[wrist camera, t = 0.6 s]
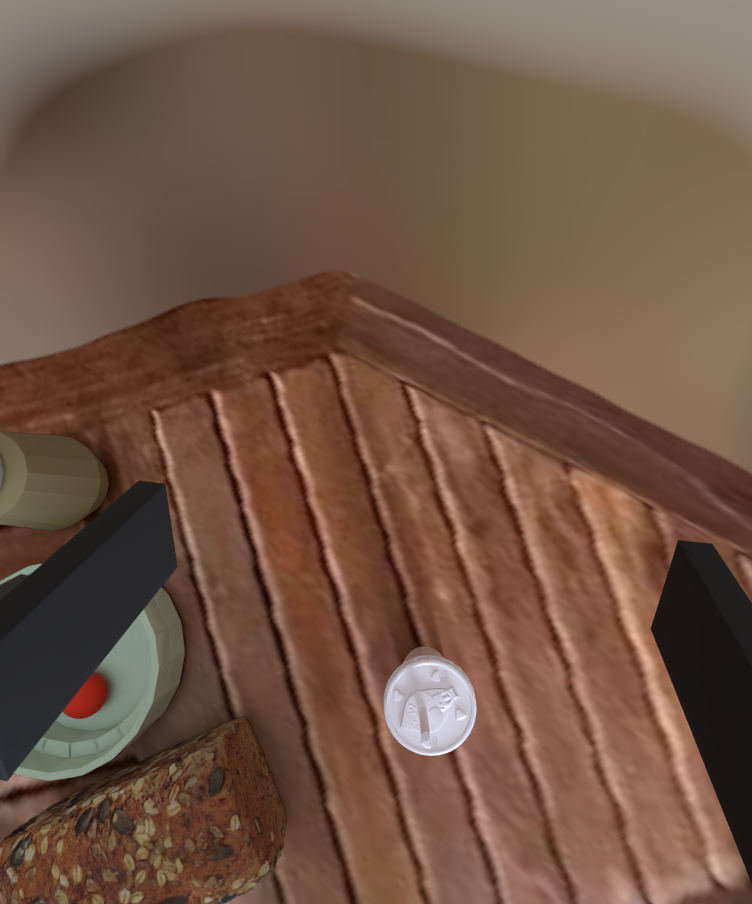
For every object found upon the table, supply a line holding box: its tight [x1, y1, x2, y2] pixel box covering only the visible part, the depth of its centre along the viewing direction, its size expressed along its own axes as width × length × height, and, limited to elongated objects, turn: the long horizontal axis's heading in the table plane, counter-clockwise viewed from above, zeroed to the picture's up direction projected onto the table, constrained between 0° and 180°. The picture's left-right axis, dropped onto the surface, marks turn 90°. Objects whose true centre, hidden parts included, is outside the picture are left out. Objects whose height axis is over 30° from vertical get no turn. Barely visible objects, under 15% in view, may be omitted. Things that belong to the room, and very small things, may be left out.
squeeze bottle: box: [0, 431, 109, 531], centre depth 42 cm, size 8×8×18 cm
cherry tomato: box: [63, 672, 108, 719], centre depth 46 cm, size 4×4×4 cm
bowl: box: [0, 563, 185, 781], centre depth 46 cm, size 16×16×6 cm
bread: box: [0, 718, 287, 904], centre depth 42 cm, size 19×11×10 cm, turn 114°
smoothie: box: [383, 646, 476, 756], centre depth 41 cm, size 6×6×14 cm
